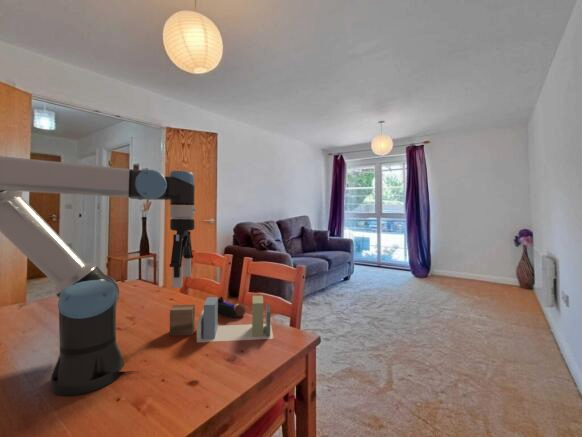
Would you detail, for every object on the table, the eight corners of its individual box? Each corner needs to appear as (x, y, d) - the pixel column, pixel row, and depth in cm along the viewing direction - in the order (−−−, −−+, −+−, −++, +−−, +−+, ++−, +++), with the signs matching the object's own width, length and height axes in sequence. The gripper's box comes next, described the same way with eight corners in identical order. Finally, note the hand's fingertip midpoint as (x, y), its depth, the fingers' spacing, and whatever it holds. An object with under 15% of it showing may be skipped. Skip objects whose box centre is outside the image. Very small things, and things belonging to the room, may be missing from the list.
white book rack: (273, 343, 92) (273, 320, 92) (196, 347, 89) (196, 323, 89) (270, 327, 104) (271, 307, 104) (202, 330, 101) (203, 309, 100)
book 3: (263, 336, 94) (263, 303, 93) (252, 336, 93) (252, 303, 93) (262, 326, 102) (262, 295, 101) (252, 326, 101) (252, 295, 101)
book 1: (192, 339, 94) (192, 309, 94) (169, 340, 93) (169, 310, 93) (194, 333, 99) (194, 304, 98) (173, 334, 98) (173, 305, 97)
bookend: (270, 336, 94) (270, 312, 93) (267, 336, 93) (267, 312, 93) (268, 325, 102) (268, 303, 102) (265, 325, 102) (265, 303, 102)
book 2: (214, 338, 92) (214, 304, 91) (203, 339, 91) (203, 305, 91) (217, 328, 99) (217, 296, 99) (207, 328, 99) (207, 297, 99)
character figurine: (220, 312, 120) (247, 320, 112) (206, 316, 113) (234, 325, 105) (221, 293, 120) (248, 300, 112) (208, 296, 114) (235, 304, 106)
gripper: (186, 220, 83) (186, 292, 84) (200, 217, 107) (200, 272, 108) (158, 219, 82) (159, 293, 82) (179, 216, 106) (179, 273, 107)
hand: (182, 281), depth 95 cm, fingers open, 13 cm apart
